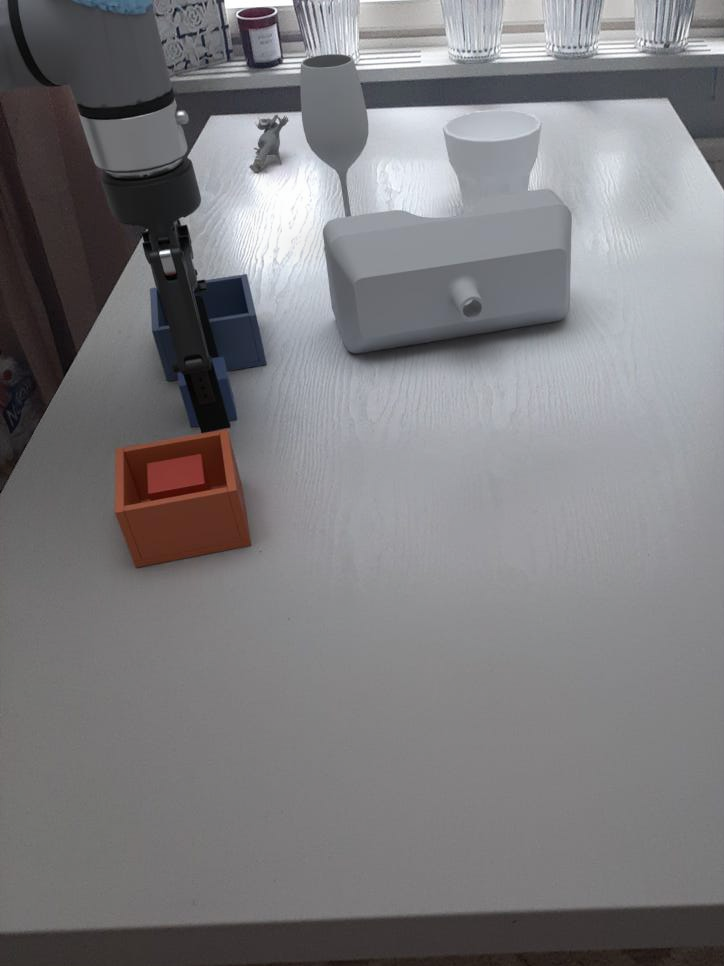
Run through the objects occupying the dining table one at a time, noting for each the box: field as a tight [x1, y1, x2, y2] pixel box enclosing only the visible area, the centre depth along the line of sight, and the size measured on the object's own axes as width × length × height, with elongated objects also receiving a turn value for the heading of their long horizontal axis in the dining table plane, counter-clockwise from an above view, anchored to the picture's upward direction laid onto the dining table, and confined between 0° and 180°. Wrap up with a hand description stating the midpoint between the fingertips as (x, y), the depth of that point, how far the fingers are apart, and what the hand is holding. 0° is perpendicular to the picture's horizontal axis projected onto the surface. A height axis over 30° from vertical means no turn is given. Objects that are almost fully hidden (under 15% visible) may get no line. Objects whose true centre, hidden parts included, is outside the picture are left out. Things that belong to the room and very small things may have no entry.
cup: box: [442, 109, 542, 214], centre depth 125 cm, size 12×12×11 cm
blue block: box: [178, 357, 238, 428], centre depth 94 cm, size 4×4×4 cm
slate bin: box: [149, 273, 268, 382], centre depth 103 cm, size 10×10×6 cm
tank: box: [322, 188, 573, 354], centre depth 101 cm, size 25×16×12 cm, turn 105°
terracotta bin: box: [114, 428, 252, 569], centre depth 81 cm, size 9×9×6 cm
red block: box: [147, 454, 212, 501], centre depth 81 cm, size 4×4×4 cm
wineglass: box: [299, 53, 369, 252], centre depth 116 cm, size 8×8×21 cm
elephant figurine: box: [249, 114, 290, 174], centre depth 146 cm, size 10×6×9 cm
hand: (210, 393), depth 94 cm, fingers open, 13 cm apart
